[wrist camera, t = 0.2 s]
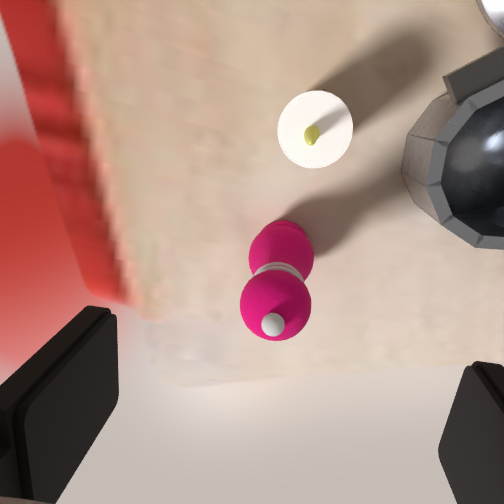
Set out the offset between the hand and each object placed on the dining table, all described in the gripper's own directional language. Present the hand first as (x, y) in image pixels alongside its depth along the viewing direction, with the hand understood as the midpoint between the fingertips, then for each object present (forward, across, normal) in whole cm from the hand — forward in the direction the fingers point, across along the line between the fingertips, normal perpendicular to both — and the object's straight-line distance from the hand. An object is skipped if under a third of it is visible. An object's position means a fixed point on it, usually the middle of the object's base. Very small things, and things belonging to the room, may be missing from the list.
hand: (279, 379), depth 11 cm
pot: (+37, -19, -4) cm, 42 cm away
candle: (+37, -1, -5) cm, 38 cm away
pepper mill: (+37, 0, +9) cm, 38 cm away
